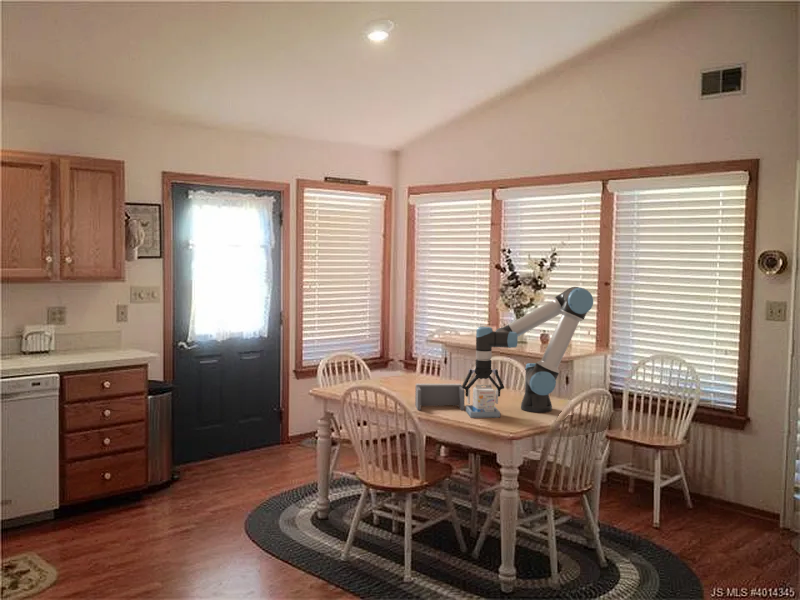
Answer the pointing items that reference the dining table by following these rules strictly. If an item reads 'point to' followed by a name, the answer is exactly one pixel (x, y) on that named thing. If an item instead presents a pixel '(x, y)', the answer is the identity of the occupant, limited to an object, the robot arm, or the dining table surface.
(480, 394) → the ink box
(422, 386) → the bay
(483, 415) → the tray
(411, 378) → the dining table surface
